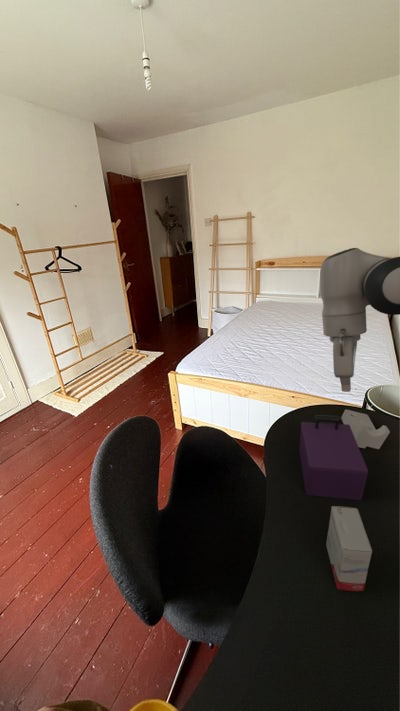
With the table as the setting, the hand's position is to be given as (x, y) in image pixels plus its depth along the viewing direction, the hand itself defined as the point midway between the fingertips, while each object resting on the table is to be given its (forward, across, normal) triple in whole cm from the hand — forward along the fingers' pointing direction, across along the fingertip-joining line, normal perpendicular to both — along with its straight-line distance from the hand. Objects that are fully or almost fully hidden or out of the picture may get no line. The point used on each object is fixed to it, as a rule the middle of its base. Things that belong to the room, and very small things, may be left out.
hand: (347, 383), depth 70 cm
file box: (+26, 0, +6) cm, 26 cm away
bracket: (+24, +20, -2) cm, 32 cm away
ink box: (+30, -22, +1) cm, 38 cm away
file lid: (+17, -1, +5) cm, 18 cm away
